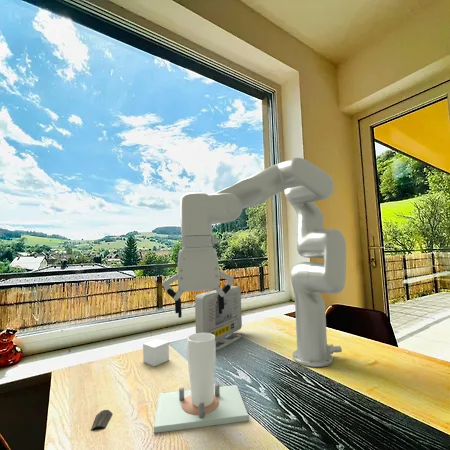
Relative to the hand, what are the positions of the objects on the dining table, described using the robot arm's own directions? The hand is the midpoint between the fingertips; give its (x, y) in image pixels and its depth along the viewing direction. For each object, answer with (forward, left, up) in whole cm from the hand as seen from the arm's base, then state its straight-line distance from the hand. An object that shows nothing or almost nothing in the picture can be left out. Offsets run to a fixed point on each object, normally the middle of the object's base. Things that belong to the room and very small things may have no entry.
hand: (200, 314), depth 66 cm
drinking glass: (0, 0, -21) cm, 21 cm away
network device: (-11, -43, -22) cm, 50 cm away
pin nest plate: (0, 0, -22) cm, 22 cm away
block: (+22, 0, -23) cm, 32 cm away
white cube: (+13, -30, -22) cm, 39 cm away
